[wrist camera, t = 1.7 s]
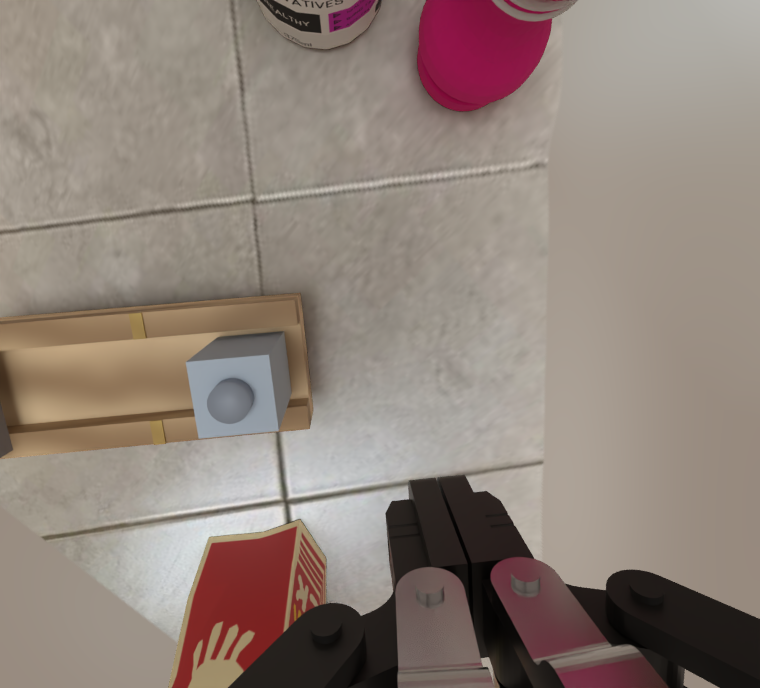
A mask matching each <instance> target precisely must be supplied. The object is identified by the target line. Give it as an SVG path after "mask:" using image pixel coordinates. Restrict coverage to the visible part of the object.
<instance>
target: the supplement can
mask: <svg viewBox="0 0 760 688" xmlns="http://www.w3.org/2000/svg"><path fill="white" fill-rule="evenodd" d="M381 1H382V0H257V2H258V4H259V6H260V8H261V10H262V12H263V14H264V16H265V18H266V19H267V20H268V21H269V22H270V23H271V24H272V25H273V26H274V27H275V28H276V30H277V31H278V32H279V33H280V34H281V35H282V36H284V37H286V38H288V39H289V40H291V41H293V42H295V43H297V44H299V45H301V46H303V47H309V48H319V49H330V48H334V47H337V46H340V45H344V44H347V43H350V42H351V41H352V40H353V39H355V38H356V37H357V36H359V35H360V34H361V33H362V32H364V31H365V30H366V29H367V28H368V27H369V25H370V23H371V22H372V20H373V18H374V17H375V15H376V13H377V12H378V10H379V9H380V6H381Z"/></svg>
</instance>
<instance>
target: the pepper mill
mask: <svg viewBox="0 0 760 688" xmlns="http://www.w3.org/2000/svg"><path fill="white" fill-rule="evenodd" d="M576 1H577V0H426V3H425V5H424V7H423V11H422V14H421V18H420V25H419V48H418V55H417V64H418V71H419V76H420V79H421V81H422V83H423V86H424V88H425V89H426V91H427V92H428V94H429V95H430V96H431V97H432V98H433V99H434V100H435V101H436V102H438V103H439V104H441V105H442V106H444V107H446V108H448V109H451V110H456V111H472V110H476V109H479V108H481V107H483V106H485V105H487V104H488V103H490V102H494V101H496V100H499V99H502V98H504V97H506V96H508V95H509V94H511V93H513V92H514V91H515V90H516V89H518V88H519V87H520V86H521V85H522V84H523V83H524V82H525V81H526V79H527V78H528V77H529V76H530V75H531V73H532V72H533V71H534V69H535V68H536V66H537V65H538V63H539V61H540V59H541V57H542V55H543V53H544V51H545V48H546V45H547V42H548V39H549V36H550V31H551V24H552V18H554V17H556V16H558V15H560V14H562V13H563V12H565V11H567V10H568V9H569V8H570V7H571V6H573V5H574V4H575V3H576Z"/></svg>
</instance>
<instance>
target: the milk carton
mask: <svg viewBox="0 0 760 688" xmlns="http://www.w3.org/2000/svg"><path fill="white" fill-rule="evenodd" d="M323 604H326V557H325V556H324V554H323V553H322V551H321V550H320V548H319V547H318V546H317V544H316V543H315V541H314V540H313V538H312V537H311V535H310V534H309V532H308V531H307V529H306V528H305V526H304V525H303V523H302V522H301V520H297V521H294V522H292V523H289V524H286V525H283V526H280V527H277V528H274V529H271V530H268V531H265V532H259V533H248V534H237V535H227V536H216V537H209V539H208V542H207V545H206V548H205V551H204V553H203V556H202V559H201V562H200V565H199V568H198V571H197V574H196V577H195V579H194V582H193V585H192V588H191V591H190V594H189V597H188V600H187V605H186V609H185V614H184V618H183V623H182V627H181V632H180V636H179V641H178V645H177V650H176V654H175V659H174V664H173V668H172V672H171V677H170V681H169V686H168V688H228V687H229V686H230V685H231V684H232V683H233V682H234V681H235V680H236V679H237V678H238V677H239V676H240V675H241V674H242V673H243V672H244V671H245V670H246V669H247V668H248V667H249V666H250V665H251V664H252V663H253V662H254V661H255V660H256V659H257V658H258V657H259V656H260V655H261V654H262V653H263V652H264V651H265V650H266V649H267V648H268V647H269V646H270V645H271V644H272V643H273V642H274V641H275V640H276V639H277V638H279V637H280V636H281V635H282V634H283V633H284V632H285V631H286V630H287V629H288V628H289V627H290V626H291V625H292V624H293V623H294V622H295V621H296V620H297V619H298V618H299V617H300V616H301V615H302V614H303V613H305V612H306V611H308V610H309V609H312V608H314V607H316V606H319V605H323Z"/></svg>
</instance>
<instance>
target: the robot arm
mask: <svg viewBox="0 0 760 688" xmlns="http://www.w3.org/2000/svg"><path fill="white" fill-rule="evenodd" d="M408 489H409V500H400V501H392V502H391V504H390V506H389V508H388V510H387V512H386V524H387V537H388V549H389V562H390V570H391V577H392V585H393V591H394V592H393V594H392V596H391V597H390V598H389V600H388V601H387V602H386V603H385V604H384V605H382V606H381V607H379V608H378V609H376V610H374V611H372V612H370V613H367V614H365V615H362V616H360V614H359V613H358V612H357V611H356V610H355V609H353V608H351V607H350V606H347V605H344V604H339V603H328V604H323V605H319V606H316V607H314V608H312V609H309V610H308V611H306V612H305V613H303V614H302V615H301V616H300V617H299V618H298V619H297V620H296V621H295V622H294V623H293V624H292V625H291V626H290V627H289V628H288V629H287V630H286V631H285V632H284V633H283V634H282V635H281V636H280V637H279V638H277V639H276V640H275V641H274V642H273V643H272V644H271V645H270V646H269V647H268V648H267V649H266V650H265V651H264V652H263V653H262V654H261V655H260V656H259V657H258V658H257V659H256V660H255V661H254V662H253V663H252V664H251V665H250V666H249V667H248V668H247V669H246V670H245V671H244V672H243V673H242V674H241V675H240V676H239V677H238V678H237V679H236V680H235V681H234V682H233V683H232V684H231V685H230V686H229V687H228V688H687V687H685V686H684V685H683V683H684V671H685V669H686V670H688V671H690V672H692V673H694V674H696V675H697V676H699V677H701V678H703V679H705V680H707V681H708V682H711V683H712V684H714V685H716V686H718V687H720V688H760V619H758V618H756V617H754V616H751V615H749V614H747V613H745V612H742V611H740V610H738V609H735V608H733V607H731V606H728V605H726V604H723V603H721V602H719V601H717V600H714V599H712V598H710V597H707V596H705V595H703V594H700V593H698V592H696V591H694V590H691V589H689V588H687V587H684V586H682V585H679V584H677V583H675V582H673V581H670V580H668V579H666V578H663V577H661V576H659V575H656V574H653V573H650V572H646V571H641V570H622V571H619V572H616V573H614V574H612V575H611V576H610V577H609V578H608V580H607V583H606V590H599V589H590V588H582V587H577V586H571V585H568V584H565V583H564V582H563V581H562V579H561V578H560V576H559V575H558V574H557V573H556V572H555V570H554V569H552V568H551V567H550V566H548V565H547V564H545V563H543V562H541V561H538V560H536V559H534V557H533V556H532V554H531V552H530V550H529V549H528V547H527V545H526V544H525V542H524V540H523V538H522V537H521V535H520V533H519V532H518V530H517V528H516V527H515V526H514V524H513V521H512V520H511V518H510V516H509V515H508V513H507V511H506V510H505V508H504V506H503V504H502V503H501V501H500V500H498V499H497V498H496V497H494V496H493V495H491V494H490V493H488V492H487V491H484V492H473V490H472V488H471V486H470V484H469V482H468V480H467V478H466V477H465V475H456V476H447V477H438V478H437V480H436V478H428V479H419V480H409V482H408ZM485 657H489V658H490V661H491V664H492V667H493V681H492V677H491V674H490V671H489V669H488V667H483V666H482V662H481V658H485Z"/></svg>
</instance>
